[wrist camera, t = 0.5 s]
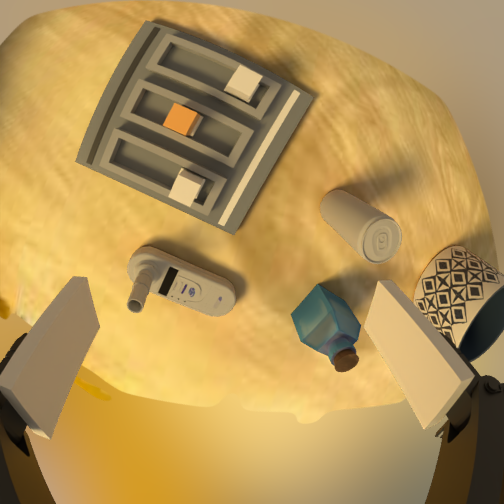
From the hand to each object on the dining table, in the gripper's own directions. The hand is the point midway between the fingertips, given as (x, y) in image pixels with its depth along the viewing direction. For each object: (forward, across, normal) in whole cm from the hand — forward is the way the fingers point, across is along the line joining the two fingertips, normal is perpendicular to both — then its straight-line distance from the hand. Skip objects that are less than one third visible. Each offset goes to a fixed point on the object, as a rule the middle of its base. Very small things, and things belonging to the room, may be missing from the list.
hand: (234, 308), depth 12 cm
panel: (+23, -5, +8) cm, 25 cm away
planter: (+24, +40, -14) cm, 49 cm away
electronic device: (+23, -6, -12) cm, 27 cm away
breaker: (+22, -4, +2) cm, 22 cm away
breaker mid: (+22, -5, +8) cm, 24 cm away
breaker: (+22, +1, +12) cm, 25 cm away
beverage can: (+23, +14, -1) cm, 27 cm away
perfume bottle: (+24, +14, -17) cm, 32 cm away
